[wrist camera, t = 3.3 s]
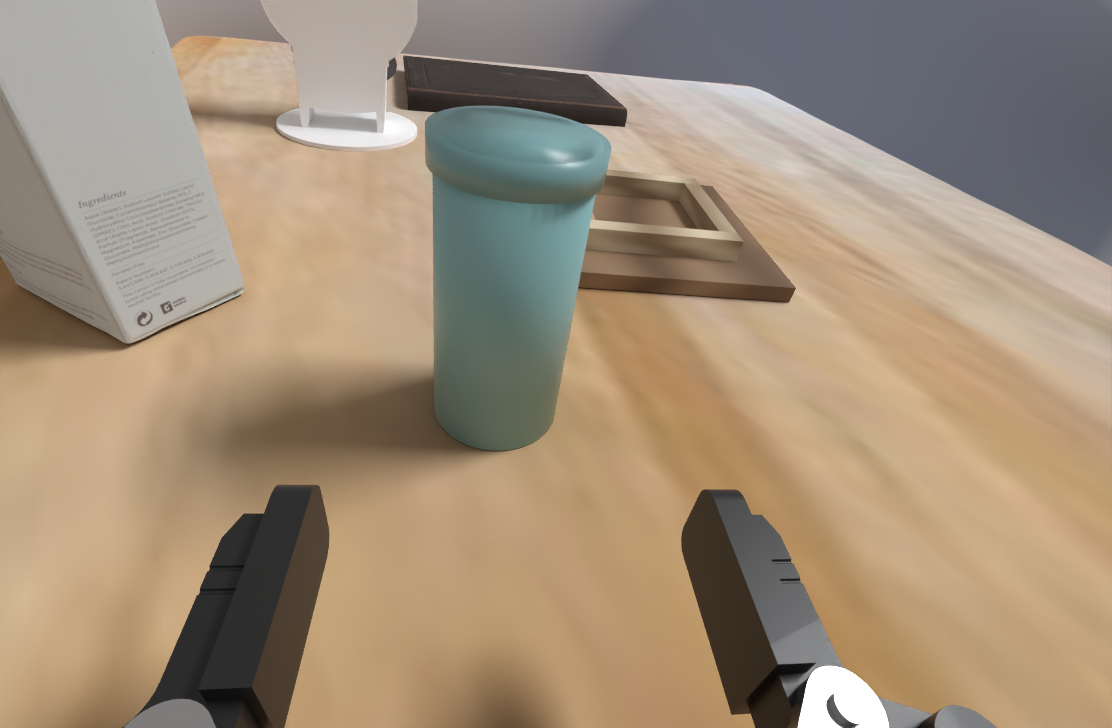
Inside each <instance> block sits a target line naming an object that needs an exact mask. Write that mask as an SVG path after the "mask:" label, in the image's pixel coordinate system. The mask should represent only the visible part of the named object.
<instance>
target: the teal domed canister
mask: <svg viewBox="0 0 1112 728" xmlns="http://www.w3.org/2000/svg"><path fill="white" fill-rule="evenodd" d="M610 153H611V145H610V143H609V141H608V140H607V139H606V138H605V137H604V136H603V135H602V134H600V133H599V132H597V131H596V130H594V129H592V128H590V127H588V126H586V125H584V124H581V123H579V122H576V121H573V120H570V119H567V118H564V117H561V116H557V115H553V114H549V113H544V112H540V111H534V110H528V109H521V108H513V107H503V106H464V107H456V108H450V109H446V110H442V111H439V112H436V113H434V114H433V115H431V116H430V117H429V118H427V120H426V122H425V157H426V165H427V167H428V169H429V170H430V171H431V172H432V173H433V298H434V411H435V416H436V418H437V421H438V422H439V424H440V426H441V427H442V428H443V429H444V431H445V432H447V433H448V434H449V435H450V436H451V437H453V438H454V439H456V440H457V441H459V442H461V443H463V444H465V445H468V446H470V447H474V448H478V449H483V450H490V451H505V450H513V449H517V448H521V447H524V446H527V445H529V444H531V443H533V442H535V441H536V440H538V439H539V438H541V437H542V436H543V435H544V434H545V433H546V432H547V431H548V429H549V428H550V426H551V424H552V422H553V419H554V414H555V409H556V404H557V398H558V393H559V388H560V382H561V377H562V372H563V366H564V361H565V355H566V350H567V345H568V339H569V334H570V329H571V323H572V318H573V313H574V307H575V302H576V297H577V291H578V286H579V281H580V275H581V270H582V265H583V259H584V254H585V249H586V243H587V238H588V233H589V227H590V222H591V217H592V211H593V206H594V201H595V195H596V193H598V192H599V191H600V190H601V189H602V188H603V186H604V183H605V178H606V173H607V168H608V163H609V158H610Z"/></svg>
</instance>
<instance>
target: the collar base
mask: <svg viewBox="0 0 1112 728" xmlns="http://www.w3.org/2000/svg"><path fill="white" fill-rule="evenodd" d="M578 287H581V288H595V289H609V290H623V291H638V292H652V293H666V294H681V295H695V296H709V297H723V298H738V299H752V300H766V301H781V302H789V301H790V299H791V297H792V295H793V293H794V291H795V289H796V288H795V286H794V285H793V284H792V283H791V282H790V280H789V279H788V278H787V277H786V275H785V274H784V273H783V272H782V271H781V269H780V268H779V267H778V266H777V265H776V263H775V262H774V261H773V260H772V258H771V257H770V256H769V255H768V254H767V252H766V251H765V250H764V249H763V248H762V246H761V245H760V244H759V243H758V241H757V240H756V239H755V238H754V237H753V235H752V234H751V233H750V232H749V231H748V229H747V228H746V227H745V226H744V224H743V223H742V222H741V221H740V220H739V218H738V217H737V216H736V215H735V214H734V212H733V211H732V210H731V209H730V207H729V206H728V205H727V204H726V203H725V201H724V200H723V199H722V198H721V197H720V195H719V194H718V193H717V192H716V190H715V189H714V188H713V187H712V186H704V185H699V183H698V182H697V181H696V180H695V179H692V178H682V177H673V176H663V175H654V174H644V173H635V172H626V171H616V170H607V173H606V178H605V183H604V186H603V188H602V189H601V190H600V191H599V192H598V193H596V195H595V201H594V206H593V211H592V217H591V222H590V227H589V233H588V238H587V243H586V249H585V254H584V259H583V265H582V270H581V275H580V281H579V286H578Z"/></svg>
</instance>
